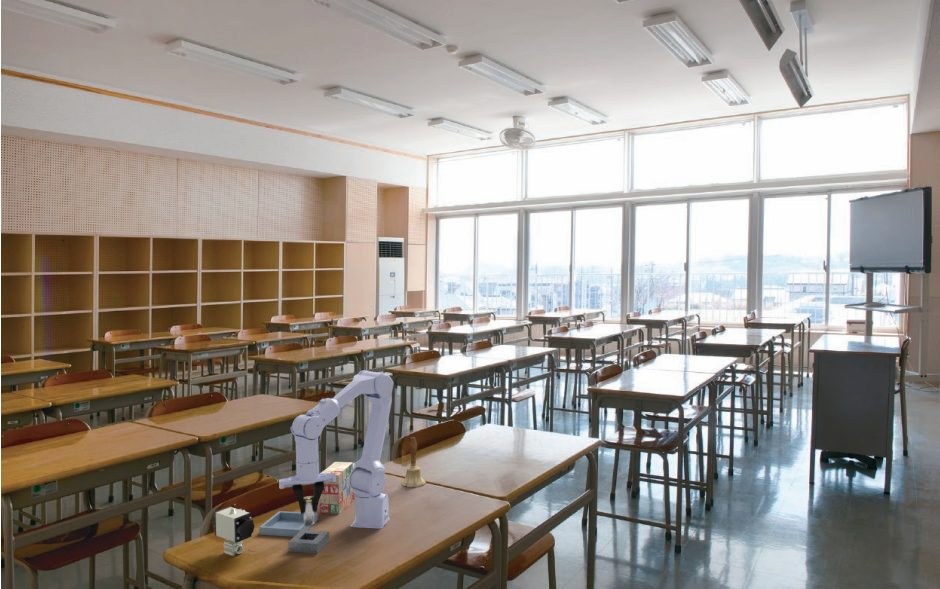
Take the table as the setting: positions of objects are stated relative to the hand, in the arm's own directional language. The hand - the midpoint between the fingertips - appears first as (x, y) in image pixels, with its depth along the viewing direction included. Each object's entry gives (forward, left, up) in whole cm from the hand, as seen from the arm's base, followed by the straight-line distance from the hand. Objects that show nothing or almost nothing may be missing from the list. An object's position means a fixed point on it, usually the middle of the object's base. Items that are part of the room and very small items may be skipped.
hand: (308, 511), depth 173 cm
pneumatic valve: (+18, +6, -10) cm, 22 cm away
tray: (+11, -11, -10) cm, 18 cm away
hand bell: (-14, -54, -10) cm, 57 cm away
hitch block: (0, 0, -10) cm, 10 cm away
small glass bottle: (0, 0, -3) cm, 3 cm away
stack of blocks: (+4, -34, -10) cm, 36 cm away
